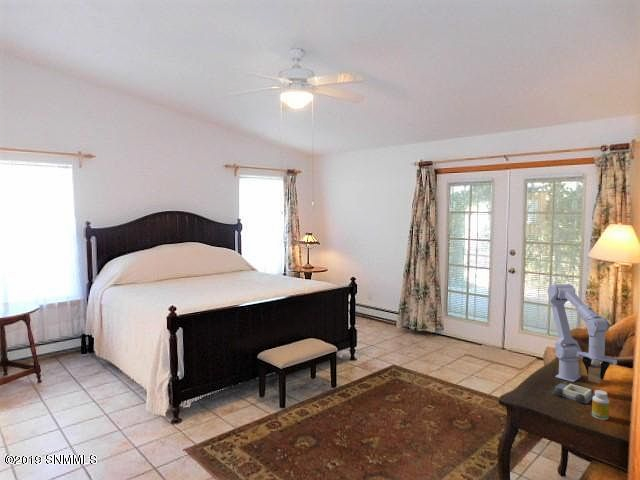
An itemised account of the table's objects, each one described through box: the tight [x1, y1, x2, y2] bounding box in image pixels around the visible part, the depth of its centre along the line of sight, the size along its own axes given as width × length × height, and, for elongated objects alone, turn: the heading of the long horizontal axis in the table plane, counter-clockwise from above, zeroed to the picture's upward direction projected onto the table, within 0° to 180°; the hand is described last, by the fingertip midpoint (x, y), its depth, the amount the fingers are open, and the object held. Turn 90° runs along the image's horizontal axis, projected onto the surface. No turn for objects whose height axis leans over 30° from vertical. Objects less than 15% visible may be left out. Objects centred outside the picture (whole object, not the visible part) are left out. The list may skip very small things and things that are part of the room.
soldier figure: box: [591, 359, 602, 366], centre depth 212 cm, size 8×5×12 cm
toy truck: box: [552, 380, 595, 404], centre depth 179 cm, size 12×13×3 cm
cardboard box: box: [587, 365, 604, 384], centre depth 181 cm, size 4×4×6 cm
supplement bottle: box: [591, 389, 610, 421], centre depth 160 cm, size 5×5×10 cm
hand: (595, 376), depth 181 cm, fingers closed on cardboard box, 4 cm apart
